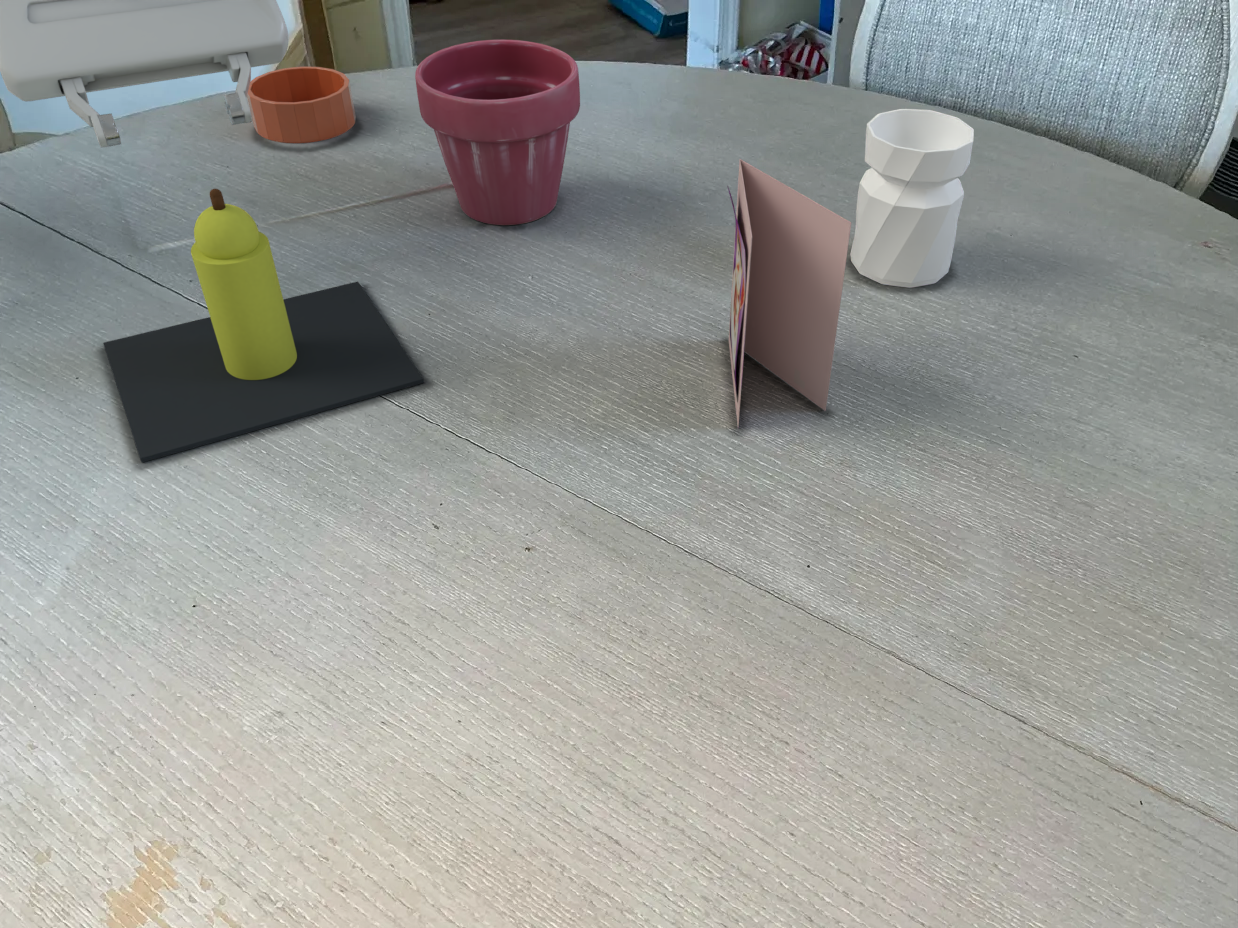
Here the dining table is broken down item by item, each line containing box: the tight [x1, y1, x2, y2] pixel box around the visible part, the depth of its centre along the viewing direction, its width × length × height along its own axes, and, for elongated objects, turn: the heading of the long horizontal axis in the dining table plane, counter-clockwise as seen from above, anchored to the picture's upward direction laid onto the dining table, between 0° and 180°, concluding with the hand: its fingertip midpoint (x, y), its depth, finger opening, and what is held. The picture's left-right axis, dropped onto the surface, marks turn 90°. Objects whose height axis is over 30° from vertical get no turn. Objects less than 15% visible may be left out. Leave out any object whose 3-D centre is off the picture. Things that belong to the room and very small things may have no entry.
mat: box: [102, 281, 425, 463], centre depth 83 cm, size 20×16×1 cm
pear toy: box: [190, 188, 297, 380], centre depth 79 cm, size 5×5×14 cm
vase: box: [849, 108, 975, 289], centre depth 93 cm, size 9×9×12 cm
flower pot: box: [414, 39, 581, 226], centre depth 100 cm, size 14×14×13 cm
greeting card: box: [727, 158, 852, 429], centre depth 78 cm, size 11×7×15 cm, turn 1°
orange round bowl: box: [246, 66, 357, 144], centre depth 115 cm, size 10×10×4 cm
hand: (177, 131), depth 83 cm, fingers open, 8 cm apart
